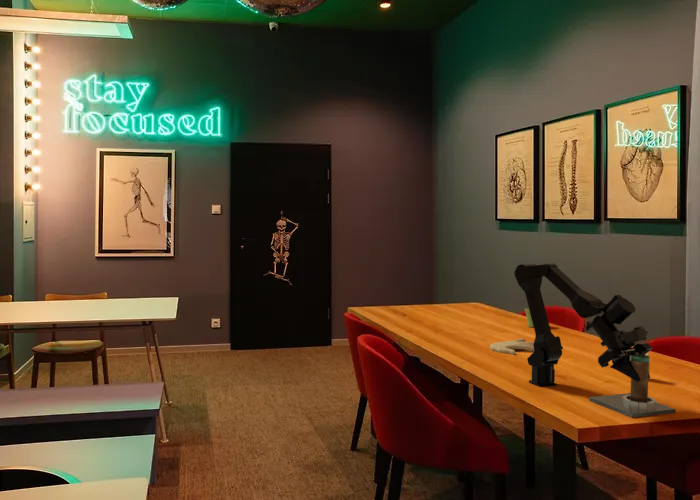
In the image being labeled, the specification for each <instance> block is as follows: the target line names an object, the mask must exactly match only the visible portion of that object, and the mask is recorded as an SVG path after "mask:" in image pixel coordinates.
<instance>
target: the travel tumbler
mask: <svg viewBox="0 0 700 500" xmlns="http://www.w3.org/2000/svg"><path fill="white" fill-rule="evenodd" d="M631 360H632V366H633V367H634V369H635V371H636V372H637V374H638V375H639V377H640V379H641V380H640V381H639V382H637V381H635V380H633V379H632V378H630V400H632V401H637V402H648V397H649V394H648V393H649V380H648V373H649V374H650V368H649V361H650V356H649V355H648V356H647V355H641V354H633V355H631Z"/></svg>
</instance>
